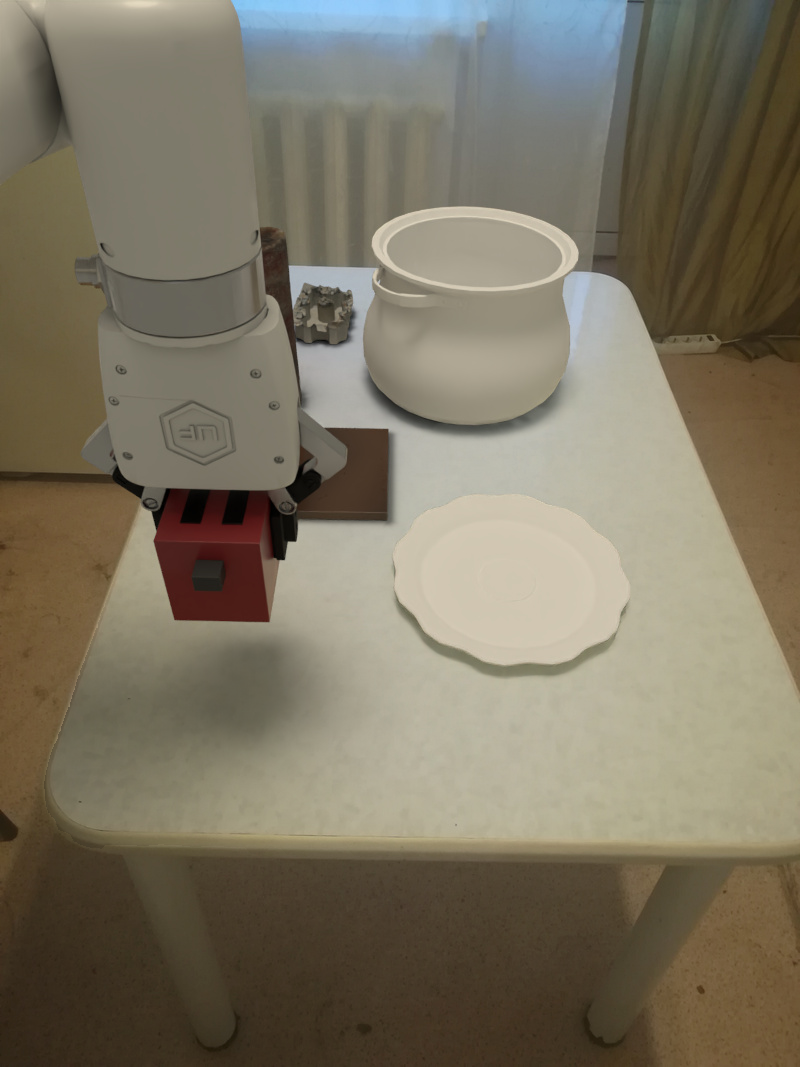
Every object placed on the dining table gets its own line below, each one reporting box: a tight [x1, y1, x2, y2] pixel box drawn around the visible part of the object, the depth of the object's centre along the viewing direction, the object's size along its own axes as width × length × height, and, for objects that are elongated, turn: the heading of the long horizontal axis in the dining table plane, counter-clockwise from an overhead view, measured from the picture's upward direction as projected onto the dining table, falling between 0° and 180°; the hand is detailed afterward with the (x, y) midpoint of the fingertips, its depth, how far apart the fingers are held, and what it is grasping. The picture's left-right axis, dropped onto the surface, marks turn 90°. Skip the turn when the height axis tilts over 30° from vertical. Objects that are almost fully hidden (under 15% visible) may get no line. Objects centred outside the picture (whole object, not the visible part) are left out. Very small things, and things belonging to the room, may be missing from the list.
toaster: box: [153, 488, 281, 623], centre depth 48 cm, size 6×11×7 cm, turn 0°
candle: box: [259, 226, 302, 404], centre depth 81 cm, size 8×7×20 cm
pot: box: [362, 206, 580, 426], centre depth 87 cm, size 26×24×17 cm
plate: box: [391, 493, 631, 667], centre depth 68 cm, size 21×21×2 cm
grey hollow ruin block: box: [293, 282, 354, 345], centre depth 101 cm, size 11×8×4 cm
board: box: [297, 426, 390, 521], centre depth 78 cm, size 16×14×1 cm
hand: (230, 542), depth 49 cm, fingers closed on toaster, 6 cm apart
